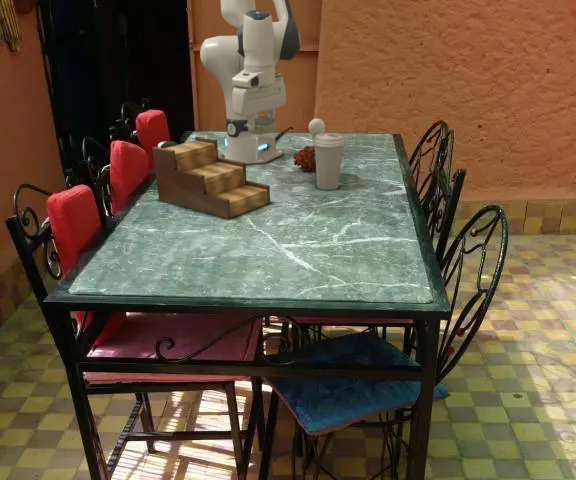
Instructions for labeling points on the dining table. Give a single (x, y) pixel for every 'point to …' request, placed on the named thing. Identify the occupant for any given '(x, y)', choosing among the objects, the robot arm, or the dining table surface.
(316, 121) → the lightbulb
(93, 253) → the dining table surface
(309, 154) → the dragon fruit
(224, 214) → the step shelf
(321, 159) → the coffee cup
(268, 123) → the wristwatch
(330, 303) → the dining table surface
